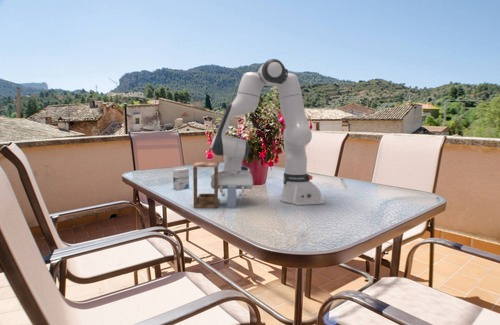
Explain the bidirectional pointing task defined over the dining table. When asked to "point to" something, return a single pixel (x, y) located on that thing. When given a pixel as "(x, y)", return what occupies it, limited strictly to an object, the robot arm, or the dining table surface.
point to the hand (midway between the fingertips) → (231, 195)
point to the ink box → (180, 179)
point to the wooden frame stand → (206, 199)
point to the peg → (231, 196)
